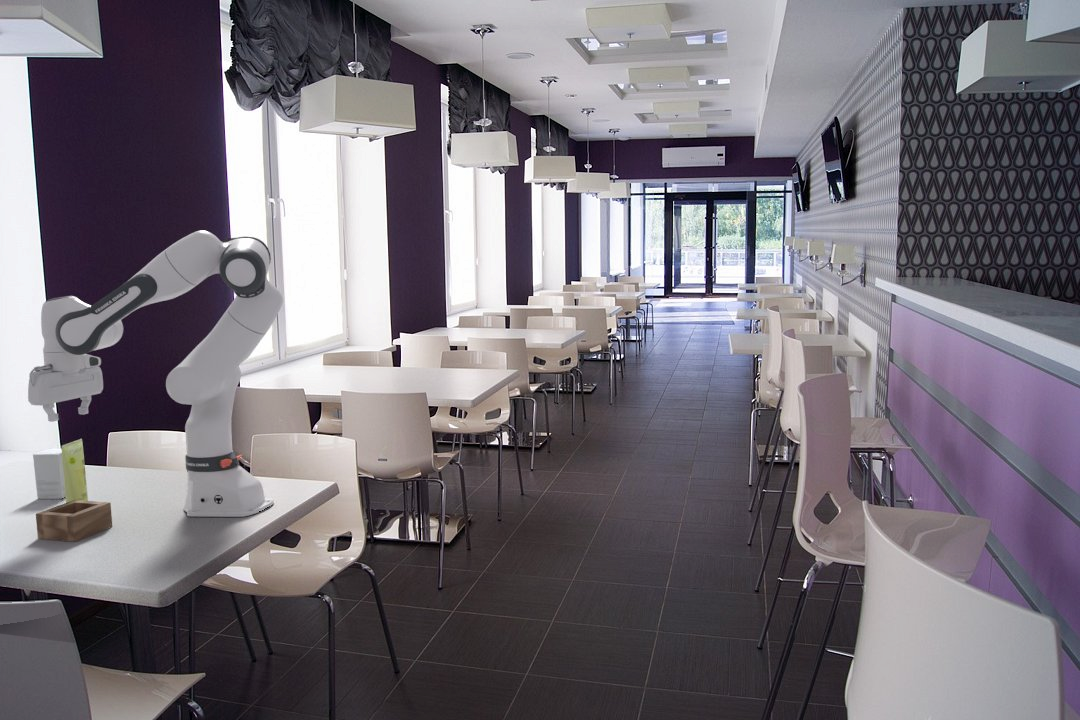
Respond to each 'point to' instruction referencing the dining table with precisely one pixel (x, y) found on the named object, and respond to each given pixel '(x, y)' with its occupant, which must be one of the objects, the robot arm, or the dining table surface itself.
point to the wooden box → (74, 520)
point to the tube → (74, 471)
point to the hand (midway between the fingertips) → (68, 417)
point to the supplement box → (49, 474)
